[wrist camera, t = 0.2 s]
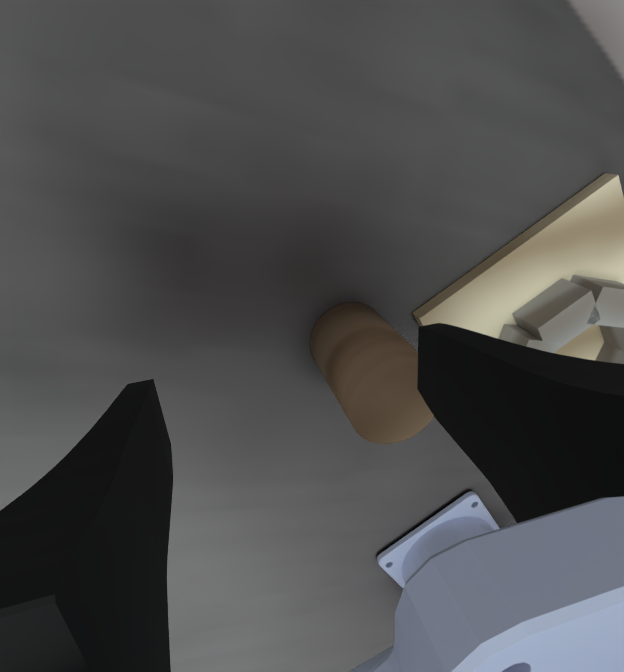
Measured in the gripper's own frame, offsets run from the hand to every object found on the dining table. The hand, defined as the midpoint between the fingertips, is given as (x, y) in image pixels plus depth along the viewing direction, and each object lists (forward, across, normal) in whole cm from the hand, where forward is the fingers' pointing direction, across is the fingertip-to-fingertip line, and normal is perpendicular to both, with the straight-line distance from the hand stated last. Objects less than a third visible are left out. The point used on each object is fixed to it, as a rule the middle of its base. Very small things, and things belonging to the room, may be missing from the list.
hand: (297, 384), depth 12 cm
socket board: (+10, -17, +8) cm, 21 cm away
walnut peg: (+10, -5, +4) cm, 11 cm away
